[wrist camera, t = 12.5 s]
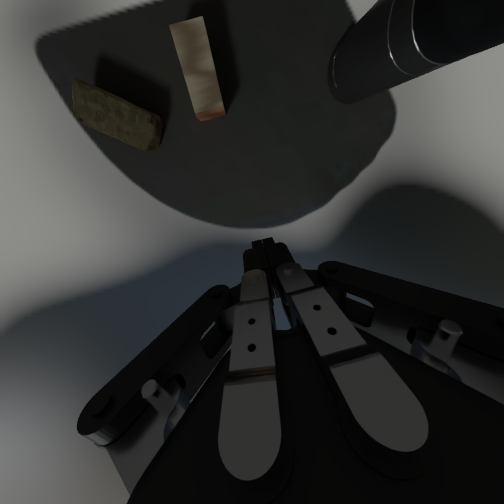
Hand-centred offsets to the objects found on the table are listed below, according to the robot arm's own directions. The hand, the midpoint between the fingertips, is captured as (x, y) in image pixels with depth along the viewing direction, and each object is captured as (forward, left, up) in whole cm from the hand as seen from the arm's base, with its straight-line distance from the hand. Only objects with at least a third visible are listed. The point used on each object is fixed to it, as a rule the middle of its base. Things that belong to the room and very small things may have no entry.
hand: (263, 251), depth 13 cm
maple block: (+3, -12, -27) cm, 30 cm away
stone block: (+17, -15, -29) cm, 37 cm away
